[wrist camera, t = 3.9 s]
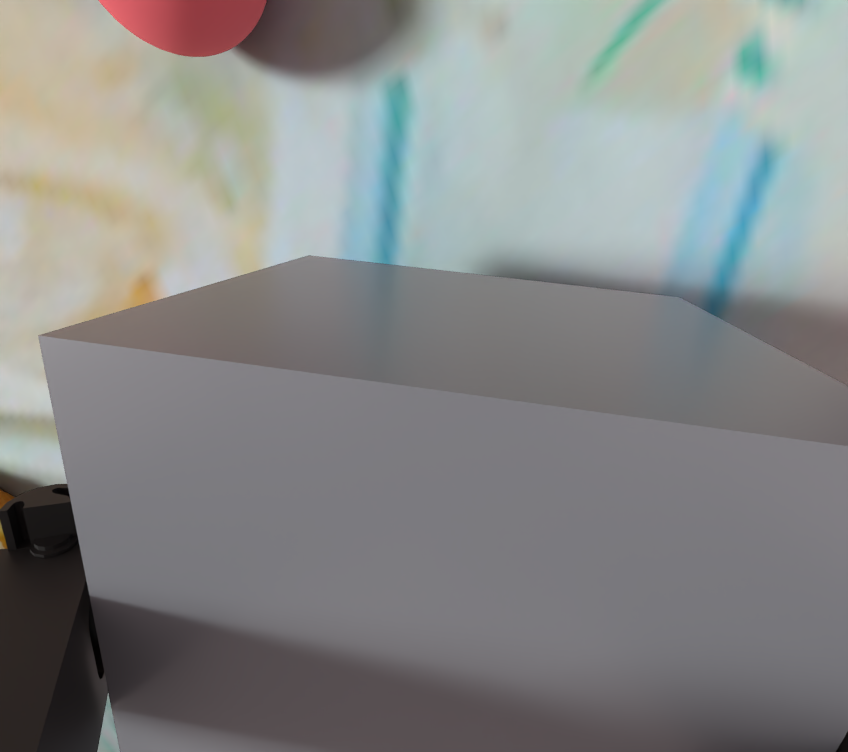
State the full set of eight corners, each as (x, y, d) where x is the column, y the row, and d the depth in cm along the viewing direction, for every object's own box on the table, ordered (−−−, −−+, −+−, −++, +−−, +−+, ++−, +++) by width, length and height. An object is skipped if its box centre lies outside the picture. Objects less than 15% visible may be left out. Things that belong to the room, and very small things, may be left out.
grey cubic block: (596, 594, 16) (696, 987, 8) (306, 544, 17) (139, 850, 9) (679, 297, 13) (1002, 467, 5) (308, 255, 14) (38, 335, 6)
